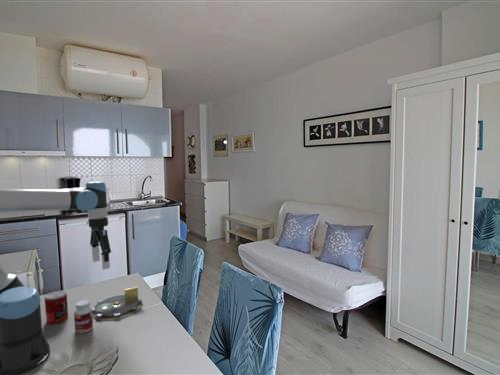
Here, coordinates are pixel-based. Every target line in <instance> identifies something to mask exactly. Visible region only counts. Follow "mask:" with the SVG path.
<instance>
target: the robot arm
mask: <svg viewBox="0 0 500 375" xmlns="http://www.w3.org/2000/svg"><path fill="white" fill-rule="evenodd" d="M107 192H108V191H107V187H106V183H105V182H104V181H91V182H86V183H85V187H83V186H82V187H71V188H70V187H69V188H68V187H67V188H60V189H59V188H58V189H45V188H43V189H39V188H38V189H37V188H36V189H32V188H31V189H30V188H29V189H27V188H24V189H23V188H20V189H19V188H0V214H2V213H3V214H5V213H7V214H8V213H10V214H11V213H29V212H31V213H32V212H50V211H54V212H55V211H57V212H58V211H77V210H78V211H80V210H81V211H84V212H85V211H87V217H88V227H89V228H90V229H91V230H90V243H89V245H90V247H91V254H92V262H93V263H96V262H99V261H100V260H101V263H102V264H101V265H102V270H108V269H111V264H110V263H111V262H110V254H111V253H112V249H111V245H110V242H109V241H110V240H109V236H108V235H109V234H108V230H107V229H105V227H107V226H108V225H109V218H108V211H109V208H108V204H107V202H108V201H107V200H108V199H107ZM100 250H101V252H100ZM100 256H101V259H100ZM41 312H42V311H41V296H40V292H39V290H38V289H37V288H35V287H33V286H25V285H24V284H23V282H21V280H20V279H19V278H18V276H17V275H16V274H15V273H9V272H7V271H6V270H5V268H4V267H3V266H2V265H1V264H0V375H21V374H23V373H27V372H28V371H31V370H32V369H35V368H36V367H37V366H36V365H37V364H38V363H39V362H40V361H41V360H42V359H43V358H44V356H46V355H47V354H49V353H50V354H51V350H50V344H49V342H48V340H47V338H46V336H45V335H44V332H43V327H42V325H43V324H42V313H41ZM50 354H49V355H50ZM35 366H36V367H35ZM34 367H35V368H34Z"/></svg>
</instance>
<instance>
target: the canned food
mask: <svg viewBox="0 0 500 375" xmlns="http://www.w3.org/2000/svg"><path fill="white" fill-rule="evenodd" d="M67 295H68V294H67V291H66V290H55V291H52V292H49V293H47V294H45V296H44V308H45V309H44V310H45V321H46V323H47V324H50V325H55V324H59V323H62V322H64V321H65V320H67V319H68V316H69V311H68V310H69V309H68V296H67Z"/></svg>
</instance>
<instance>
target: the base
mask: <svg viewBox="0 0 500 375" xmlns="http://www.w3.org/2000/svg"><path fill="white" fill-rule="evenodd" d="M142 305H143V302H142V303H139V304H138V306H137V310H136V311H134V312H133V311H131V312H129V313H127V314H124V315H121V316H120V317H119V318H114V317H110V318H104V317H102V318H101V319H98V318H96V314H95V312H94V313H92V318H93V320H97V321H114V320H119V319H120V320H121V319H123V318H127V317H130V316H131V315H133V314H135V313H136V312H138V311H139V310H140V308H142Z"/></svg>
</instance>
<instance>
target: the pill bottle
mask: <svg viewBox="0 0 500 375" xmlns="http://www.w3.org/2000/svg"><path fill="white" fill-rule="evenodd" d="M90 303H91V302H90V300H88V299H83V300H80V301H78V302H76V304H75V309H74V312H73V315H74V317H73V318H74V319H73V320H74V332H75V333H77V334H85V333H87V332H90V331H91V330H92V329H93V327H94V324H93V323H94V318H92V308H93V307H92V306H91V304H90Z"/></svg>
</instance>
